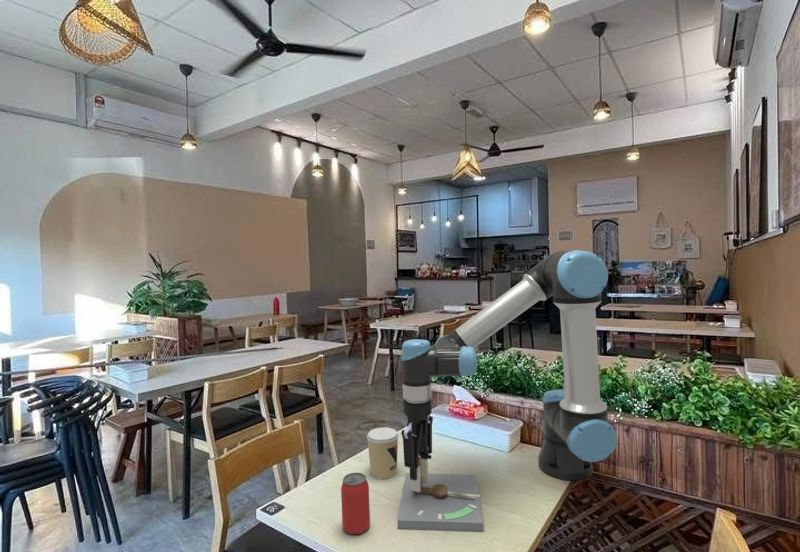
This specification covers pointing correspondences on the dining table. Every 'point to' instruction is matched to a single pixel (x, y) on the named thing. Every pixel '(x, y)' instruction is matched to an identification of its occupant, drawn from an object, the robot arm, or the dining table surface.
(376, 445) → the coffee cup
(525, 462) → the dining table surface
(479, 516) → the board
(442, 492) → the peg dial
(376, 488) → the dining table surface
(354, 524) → the beer can
